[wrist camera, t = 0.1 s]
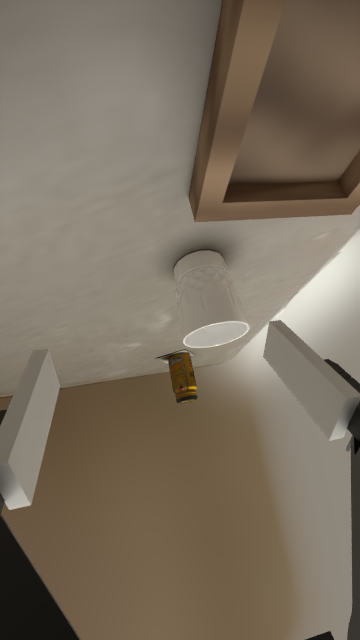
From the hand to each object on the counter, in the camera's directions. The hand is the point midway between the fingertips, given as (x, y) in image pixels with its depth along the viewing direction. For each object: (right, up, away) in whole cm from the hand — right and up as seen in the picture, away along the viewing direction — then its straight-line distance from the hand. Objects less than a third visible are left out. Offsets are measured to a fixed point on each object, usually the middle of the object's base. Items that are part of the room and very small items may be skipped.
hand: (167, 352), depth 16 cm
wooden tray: (+10, +18, +3) cm, 21 cm away
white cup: (+3, +9, +19) cm, 22 cm away
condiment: (0, -8, +55) cm, 56 cm away
